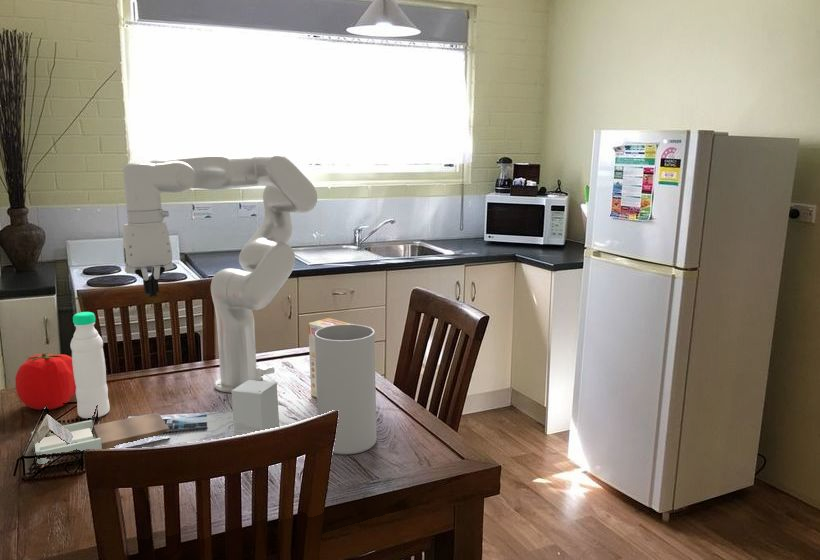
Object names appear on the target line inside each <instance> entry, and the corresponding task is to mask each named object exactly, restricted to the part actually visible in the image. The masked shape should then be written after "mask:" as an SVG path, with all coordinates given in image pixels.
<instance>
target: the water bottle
mask: <svg viewBox="0 0 820 560" xmlns="http://www.w3.org/2000/svg"><path fill="white" fill-rule="evenodd" d="M72 323H73V324H74V325H73V326H74V327H75V331H74V333H73V337H72V338H71V340H70V344H69V345H70V350H71V357H72V364H73V373H74V380H75V385H76V391H75V398H76V402H77V403H76V406H77V415H78V416H79V417H80V418H81V419H85V420H86V419H87V420H88V418H91V419H93V418H92V416H93V415H94V412H95V409H96V406H97V405H98V418H100V417H103V416H105V415H107V414H108V413H109V412H110V409H111V408H110V401H109V396H108V395H109V390H108V389H109V388H108V384H107V372H106V371H107V368H106V358H105V353H104V348H103V347H104V341H103V338H102V336H100V334H99V331H98V330H97V329H96V328H95V325H96V315H95V313H94V312H91V311H82V312H77V313H75V314H73V316H72Z"/></svg>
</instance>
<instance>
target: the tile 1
mask: <svg viewBox="0 0 820 560" xmlns="http://www.w3.org/2000/svg"><path fill="white" fill-rule="evenodd" d="M64 445H67V443H66V442H65V441H63V440H61V439H60V438H59V437H57V436H56V435H54V436H49V437H44V438H43V439H42V440H41V441H40V443H39V447H40V451H41V450H45V449H50V448H54V447H59V446H64Z"/></svg>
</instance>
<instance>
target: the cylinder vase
mask: <svg viewBox="0 0 820 560" xmlns="http://www.w3.org/2000/svg"><path fill="white" fill-rule="evenodd" d="M375 333H376V332H375V329H374V328H372V327H371V326H368V325H362V324H354V323H349V324H341V325H332V326H327V327H323V328H320V329H318V330H317V331H316V332H315V354H316V381H317V397H316V403H317V416H318V415H321V414H324V413H327V412H329V411H332V410H339V419H338V425H337V432H336V440H335V445H334V451H333V453H332V454H334V455H353V454H354V455H355V454H360V453H363V452H366V451H368V450H370V449H371V448H373V446H374V445H375V444H376V443H377V437H378V436H377V434H378V433H377V390H376V388H377V387H376V337H375V335H376V334H375Z"/></svg>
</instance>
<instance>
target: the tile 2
mask: <svg viewBox="0 0 820 560" xmlns="http://www.w3.org/2000/svg"><path fill="white" fill-rule="evenodd" d="M71 433H72V435H73V438H72V441H75V442H77V443H78V442H82V441H87V440H92V439H94V438H93V434H92V432H91V429H90V428H87V429H82V430H77V431H72V432H71Z"/></svg>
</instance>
